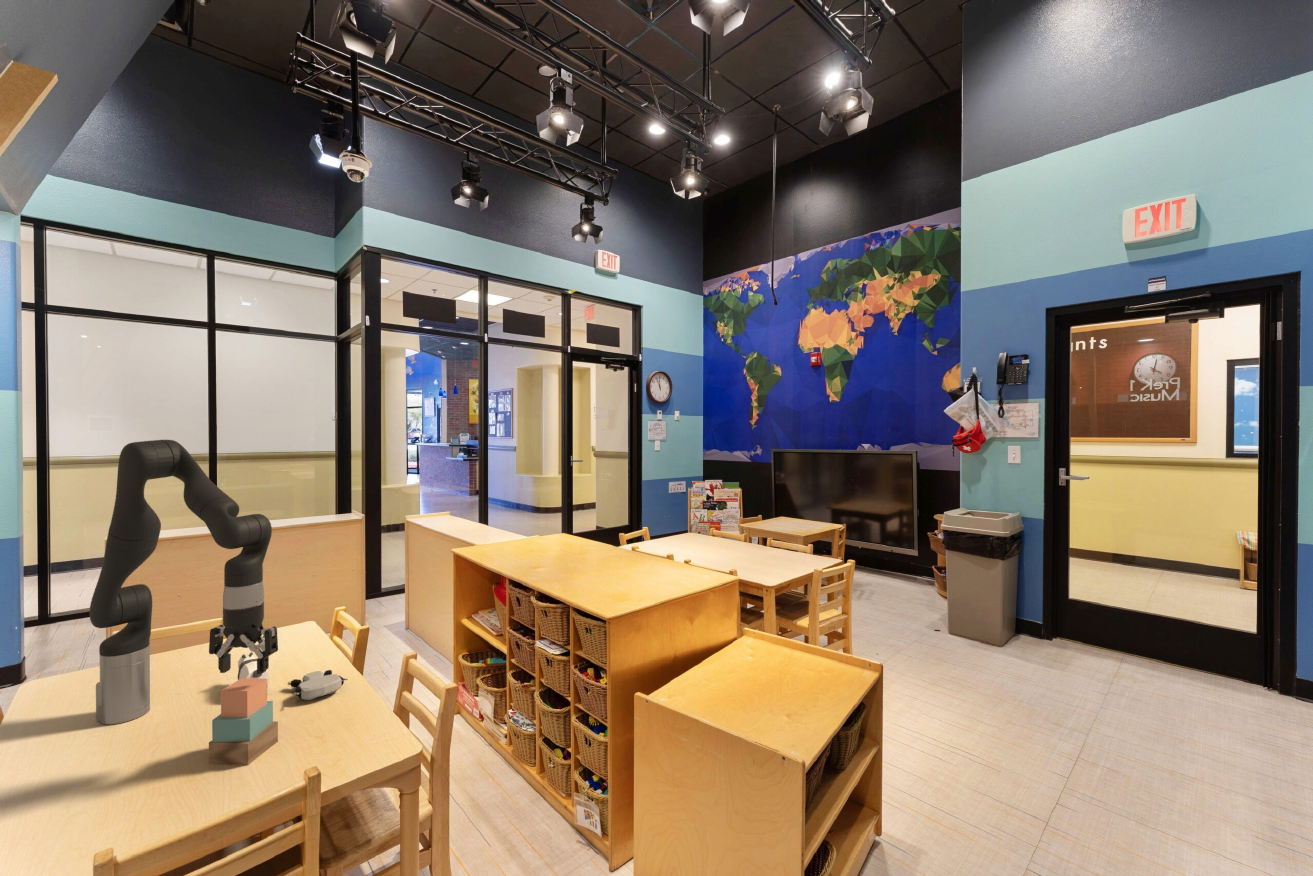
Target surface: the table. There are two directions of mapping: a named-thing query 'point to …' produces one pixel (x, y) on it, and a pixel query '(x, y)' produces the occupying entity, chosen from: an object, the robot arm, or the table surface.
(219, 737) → the tower top
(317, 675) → the robot toy
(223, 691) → the terracotta cube
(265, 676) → the giant panda
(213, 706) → the table surface
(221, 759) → the tower base
